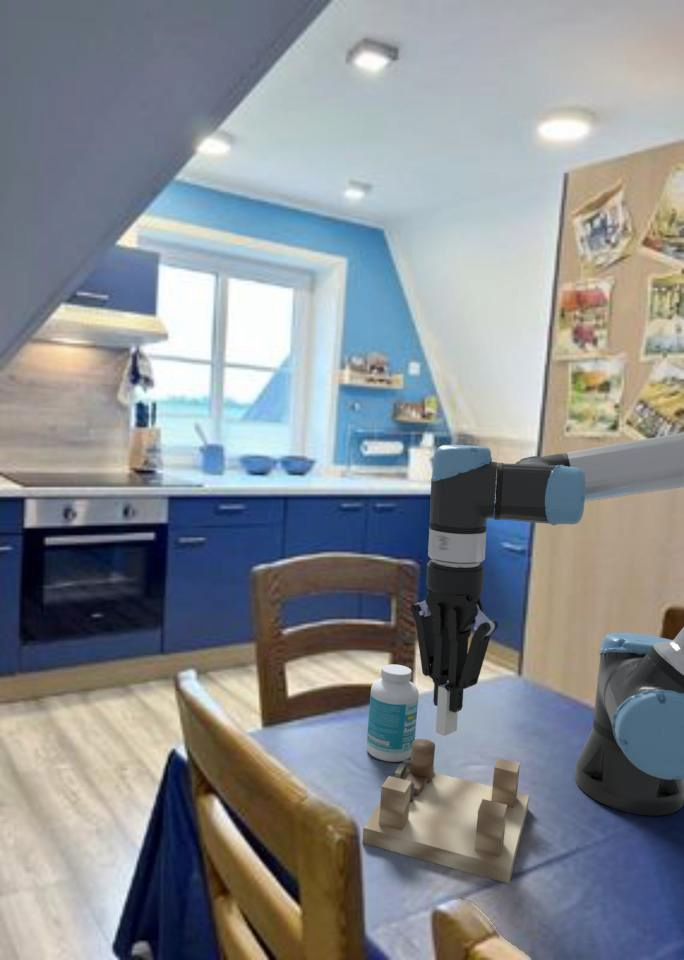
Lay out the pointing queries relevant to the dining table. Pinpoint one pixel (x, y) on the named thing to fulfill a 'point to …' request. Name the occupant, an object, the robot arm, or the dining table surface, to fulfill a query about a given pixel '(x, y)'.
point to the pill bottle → (392, 714)
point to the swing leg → (421, 764)
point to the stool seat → (453, 820)
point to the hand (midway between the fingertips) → (446, 731)
